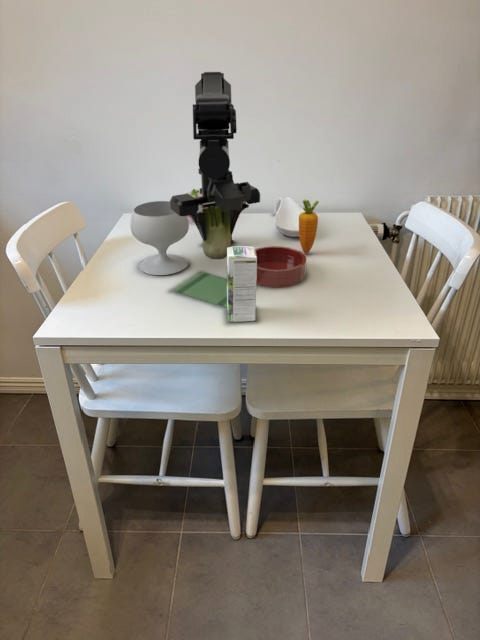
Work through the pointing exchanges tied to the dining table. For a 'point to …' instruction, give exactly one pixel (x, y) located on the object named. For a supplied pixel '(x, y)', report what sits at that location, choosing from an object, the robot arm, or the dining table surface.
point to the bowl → (280, 266)
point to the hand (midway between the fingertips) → (217, 237)
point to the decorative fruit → (194, 194)
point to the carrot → (308, 226)
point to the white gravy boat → (287, 216)
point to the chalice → (159, 235)
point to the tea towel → (206, 288)
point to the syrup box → (241, 283)
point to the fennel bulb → (216, 233)
